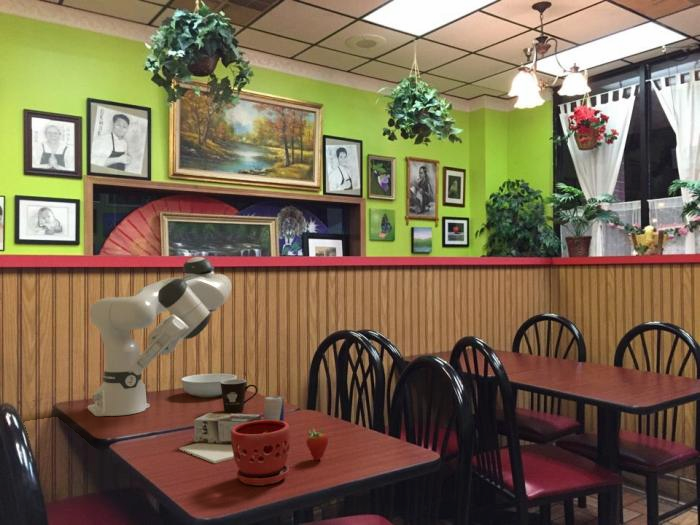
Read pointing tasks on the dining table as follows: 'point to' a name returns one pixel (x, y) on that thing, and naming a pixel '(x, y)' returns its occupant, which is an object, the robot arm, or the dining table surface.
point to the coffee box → (219, 426)
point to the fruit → (317, 444)
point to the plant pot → (261, 451)
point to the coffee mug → (234, 395)
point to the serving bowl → (205, 384)
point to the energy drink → (274, 408)
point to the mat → (210, 451)
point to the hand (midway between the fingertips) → (148, 356)
